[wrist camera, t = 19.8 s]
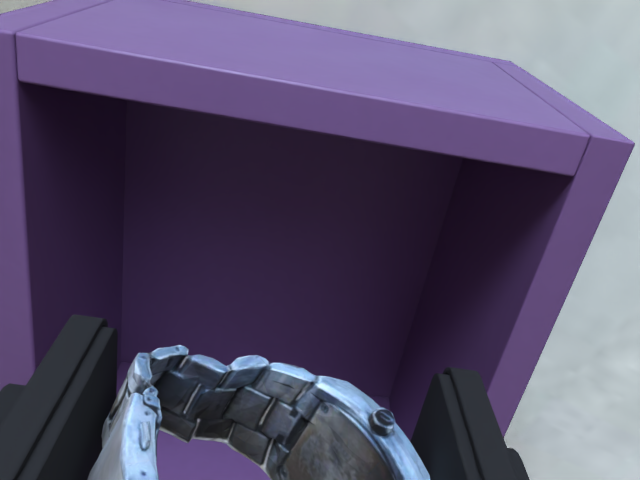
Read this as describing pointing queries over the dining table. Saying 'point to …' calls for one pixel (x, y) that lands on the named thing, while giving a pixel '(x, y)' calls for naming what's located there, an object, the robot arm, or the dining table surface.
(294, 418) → the wristwatch
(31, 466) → the robot arm
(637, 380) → the dining table surface
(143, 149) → the file box
